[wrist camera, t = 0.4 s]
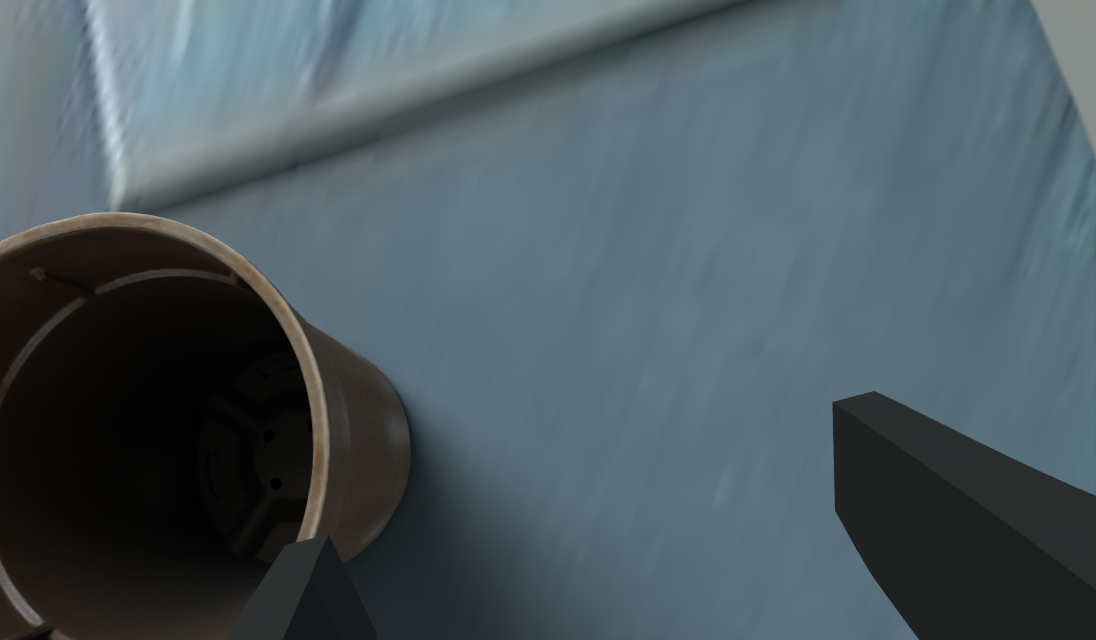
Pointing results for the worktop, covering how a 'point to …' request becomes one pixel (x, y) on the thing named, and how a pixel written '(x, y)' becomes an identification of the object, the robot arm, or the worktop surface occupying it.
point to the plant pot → (170, 433)
